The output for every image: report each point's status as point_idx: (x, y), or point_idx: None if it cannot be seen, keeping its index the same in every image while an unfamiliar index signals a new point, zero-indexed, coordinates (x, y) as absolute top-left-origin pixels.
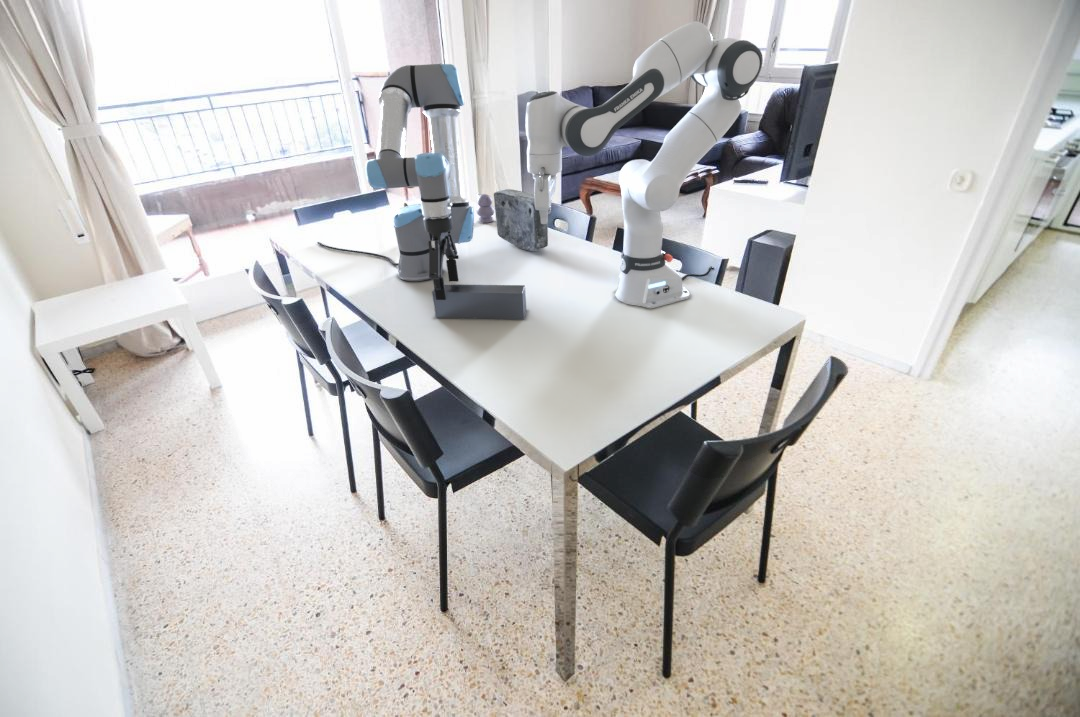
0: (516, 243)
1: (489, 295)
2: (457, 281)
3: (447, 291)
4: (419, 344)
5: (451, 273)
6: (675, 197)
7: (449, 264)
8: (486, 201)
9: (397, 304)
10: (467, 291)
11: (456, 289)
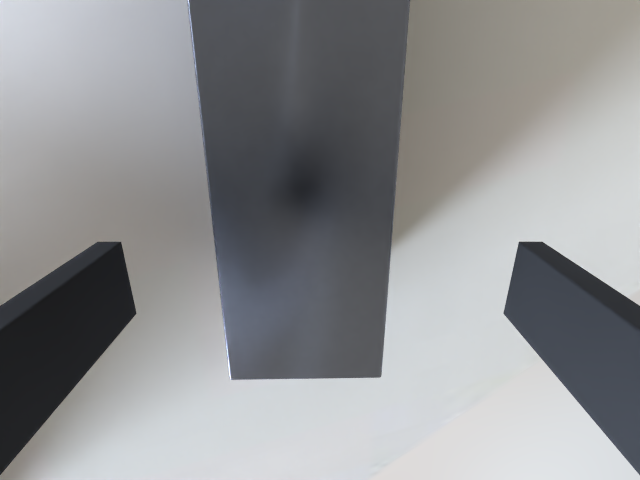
0: None
1: None
2: (121, 245)
3: (371, 271)
4: (616, 275)
5: (86, 331)
6: None
7: (6, 422)
8: None
9: (226, 462)
10: (377, 77)
11: (327, 204)
